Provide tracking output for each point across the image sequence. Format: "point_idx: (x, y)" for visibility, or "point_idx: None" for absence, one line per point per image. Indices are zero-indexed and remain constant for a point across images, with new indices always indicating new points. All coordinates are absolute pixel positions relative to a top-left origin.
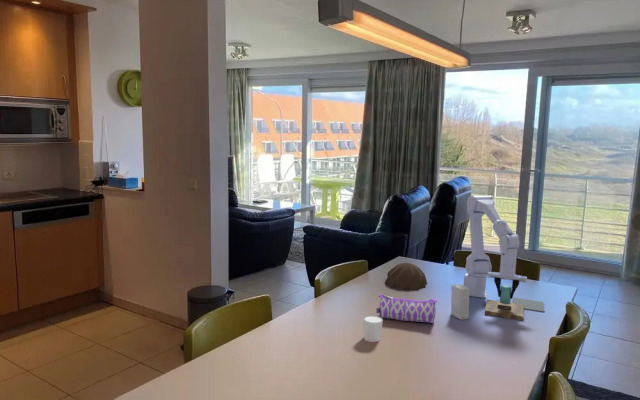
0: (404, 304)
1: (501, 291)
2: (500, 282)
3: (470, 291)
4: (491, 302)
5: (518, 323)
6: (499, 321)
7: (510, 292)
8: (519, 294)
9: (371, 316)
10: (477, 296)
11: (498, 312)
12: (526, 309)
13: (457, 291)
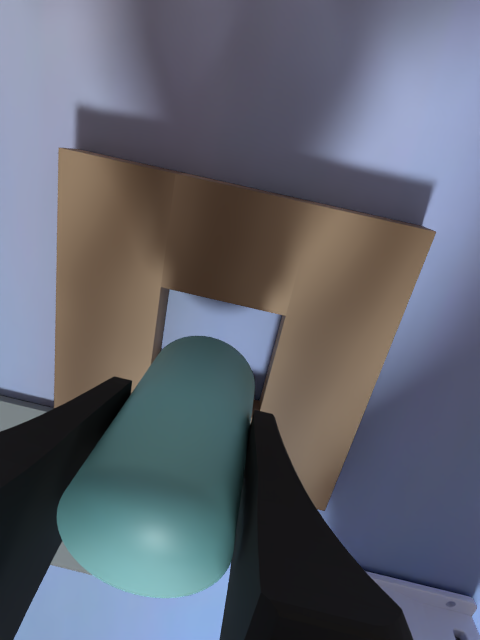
0: None
1: (233, 455)
2: (262, 588)
3: (428, 628)
4: (305, 453)
5: (126, 42)
6: (316, 42)
7: (104, 434)
8: (80, 629)
9: None
10: (371, 576)
11: (296, 209)
12: (44, 406)
13: None
